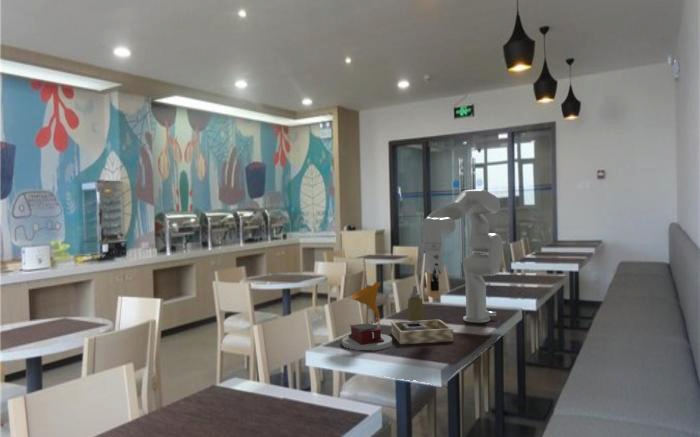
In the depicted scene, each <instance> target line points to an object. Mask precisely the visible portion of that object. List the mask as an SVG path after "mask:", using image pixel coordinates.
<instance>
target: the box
mask: <svg viewBox="0 0 700 437" xmlns="http://www.w3.org/2000/svg"><path fill="white" fill-rule="evenodd" d="M416 322H422V323H423V324H424V325H426V326H427V330H414V331H401V323H416ZM390 323H391V324H390V325H391V335H392V336H393V337H394V338H395V340H396V341H397V342H398V343H399V345H410V344H413V345H414V344H426V343H427V344H428V343H443V342H444V343H445V342H454V328H452V327H451V326H449V325H448V324H446V323H445V322H444V321H443V320H441V319H426V320H424V319H423V320H422V321H409V320H407V321H405V320H404V321H391V322H390Z"/></svg>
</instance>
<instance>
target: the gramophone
mask: <svg viewBox="0 0 700 437" xmlns="http://www.w3.org/2000/svg"><path fill="white" fill-rule="evenodd" d="M381 283H382V281H378V282H375V283H373V285H369V284H367V285H366V286H365V287H364V288H363V289H358V290H357V291H356V293H355V294H351V295H350V298H349V300H355V301H356V302H359V303H361V304H363V305H366V306H368V307H369V308H370V309H371V311H373V313H374V314H375V315H376V317H375V321H371V323H370V322H366V323H358V324H350V325H349V327H350V332H351V333H350V334H348V335H347V336H344V337H343V338H342V339H341V345H342V346H344V347H343V348H345V347H346V348H345V349H347V348H350V349H349V350H351V349H355V350H354V351H359V350H372V351H378V350H379V351H380V350H384V349H387V348H390V347H391V346H392V345H393V337H392V336H390V335H387V334H382V331H383V329H382V328H380V327H381V325H380V321H381V320H380V319H381V318H380V311H379V309H378V306H377V302H376V301H377V297H378V292H379V291H378V290H379V288H380V285H381ZM375 324H376V325H377V326H376V325H375Z"/></svg>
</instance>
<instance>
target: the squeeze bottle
mask: <svg viewBox="0 0 700 437" xmlns="http://www.w3.org/2000/svg"><path fill="white" fill-rule="evenodd" d="M412 287H413V288H412V292H410V294H409V296H410V297H409V298H408V300H407V314H406V317H407V319H408V320H407V321H422V320H424V318H425V312H424V304H423V298H421V294H420V293H419V292H418V289H417V285H413V286H412Z"/></svg>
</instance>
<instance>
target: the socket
mask: <svg viewBox="0 0 700 437" xmlns="http://www.w3.org/2000/svg"><path fill="white" fill-rule="evenodd" d="M414 330H427V326H426V325H424V324H423V323H422V322H416V323H401V331H414Z"/></svg>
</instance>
